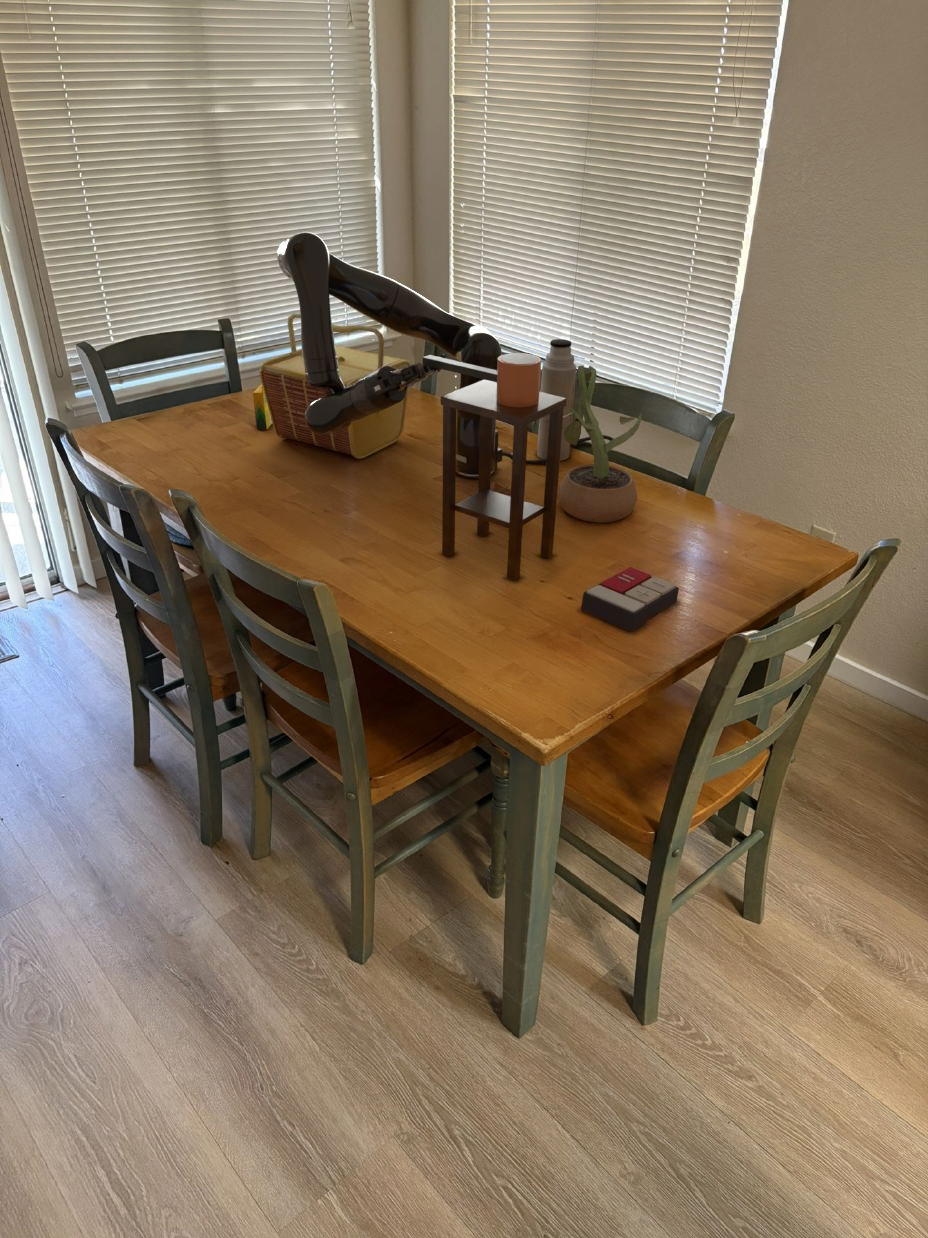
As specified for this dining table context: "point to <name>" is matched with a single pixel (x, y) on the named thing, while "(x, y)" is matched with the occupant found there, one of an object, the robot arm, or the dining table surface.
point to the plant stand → (488, 502)
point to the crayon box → (261, 409)
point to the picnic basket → (295, 395)
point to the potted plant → (596, 467)
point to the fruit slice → (500, 489)
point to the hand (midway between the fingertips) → (432, 363)
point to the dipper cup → (502, 376)
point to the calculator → (629, 598)
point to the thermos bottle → (557, 391)
